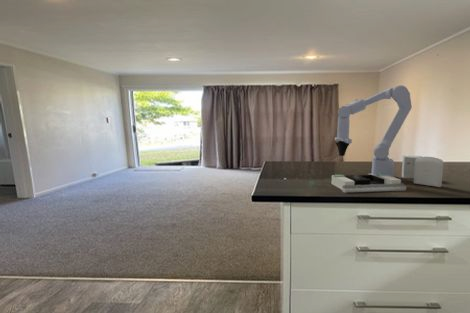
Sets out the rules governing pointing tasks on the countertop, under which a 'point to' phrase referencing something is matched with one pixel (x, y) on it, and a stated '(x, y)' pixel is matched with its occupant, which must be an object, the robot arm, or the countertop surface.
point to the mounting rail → (373, 187)
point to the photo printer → (428, 171)
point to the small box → (408, 166)
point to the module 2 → (388, 178)
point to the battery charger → (365, 179)
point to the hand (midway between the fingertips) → (341, 155)
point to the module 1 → (341, 181)
